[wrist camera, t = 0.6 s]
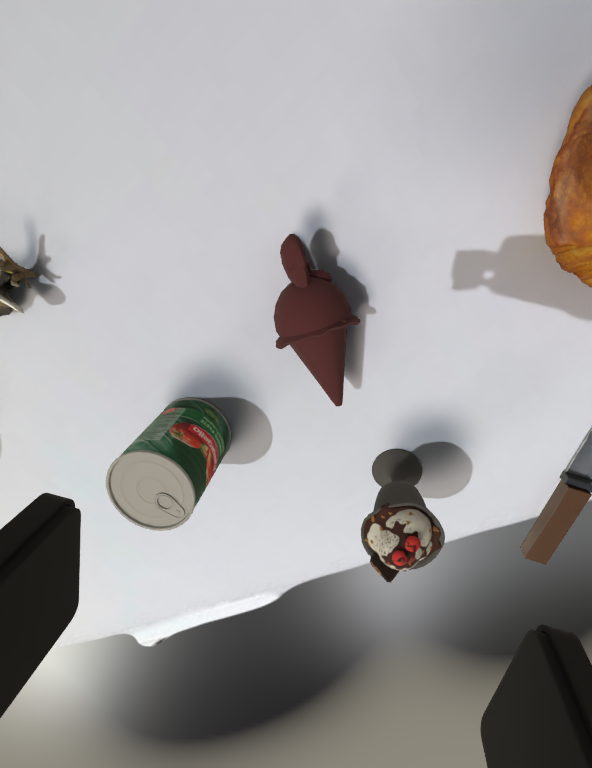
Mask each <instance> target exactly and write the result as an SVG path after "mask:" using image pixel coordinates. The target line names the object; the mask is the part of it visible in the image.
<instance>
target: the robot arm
mask: <svg viewBox="0 0 592 768" xmlns="http://www.w3.org/2000/svg"><path fill="white" fill-rule="evenodd" d="M80 525H81V512H80V510H79V509H77V508H75V503H74V501H73V500H71V499H68V498H64V497H61V496H57V495H53V494H49V493H44V494H42V495H40V496H39V497H38V498H36V499H35V500H34V501H33V502H32V503H31V504H29V505H28V506H27V507H26V508H25V509H24V510H22V511H21V512H20V513H19V514H18V515H17V516H16V517H14V518H13V519H12V520H11V521H10V522H9V523H7V524H6V525H5V526H4V527H3V528H2V529H1V530H0V718H1V716H2V715H3V714H4V712H5V711H6V710H7V708H8V707H9V706H10V704H11V703H12V701H13V700H14V699H15V697H16V696H17V695H18V693H19V692H20V690H21V689H22V688H23V686H24V685H25V684H26V682H27V681H28V679H29V678H30V677H31V675H32V674H33V673H34V671H35V670H36V668H37V667H38V666H39V664H40V663H41V661H42V660H43V659H44V657H45V656H46V655H47V653H48V652H49V651H50V649H51V648H52V646H53V645H54V644H55V642H56V641H57V640H58V638H59V637H60V635H61V634H62V633H63V631H64V630H65V629H66V627H67V626H68V624H69V623H70V622H71V620H72V618H73V617H74V615H75V613H76V610H77V607H78V602H79V567H80ZM481 738H482V743H483V748H484V753H485V757H486V762H487V767H488V768H592V665H591V663H590V661H589V659H588V657H587V655H586V653H585V651H584V649H583V646H582V644H581V642H580V640H579V639H578V637H577V636H576V635H575V634H574V633H572V632H568V631H565V630H561V629H557V628H553V627H549V626H546V625H540V626H538V627H537V629H536V630H535V631H534V630H530V631H528V632H527V634H526V636H525V637H524V639H523V641H522V643H521V645H520V647H519V649H518V650H517V652H516V654H515V656H514V658H513V660H512V662H511V664H510V665H509V667H508V669H507V671H506V673H505V675H504V677H503V679H502V680H501V682H500V684H499V686H498V688H497V690H496V692H495V694H494V696H493V697H492V699H491V701H490V703H489V705H488V707H487V709H486V711H485V713H484V714H483V717H482V721H481Z"/></svg>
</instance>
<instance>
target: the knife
mask: <svg viewBox="0 0 592 768" xmlns="http://www.w3.org/2000/svg"><path fill="white" fill-rule="evenodd" d="M560 478H561V482H560V483H559V485H558V487H557V488H556V490H555V491H554V493H553V495H552V496H551V498H550V500H549V501H548V503H547V504H546V506H545V508H544V509H543V511H542V513H541V514H540V516H539V517H538V519H537V521H536V522H535V524H534V526H533V527H532V529H531V530H530V532H529V534H528V535H527V537H526V539H525V540H524V542H523V543H522V545H521V547H520V548H521V550H522V552H523V555H524V557H525V558H527V559H530V560H533V561H536V562H539V563H542V564H545V565H546V563H547V562H548V560H549V559H550V557H551V556H552V554H553V553H554V551H555V550H556V548H557V547H558V545H559V543H560V542H561V541H562V539H563V538H564V536H565V535H566V533H567V532H568V530H569V528H570V527H571V525H572V524H573V523H574V521H575V519H576V518H577V516H578V515H579V513H580V512H581V510H582V509H583V507H584V506H585V504H586V503H587V501H588V500H589V498H590V497H591V493H592V427H591V429H590V430H589V432H588V434H587V435H586V437H585V439H584V440H583V442H582V443H581V445H580V447H579V448H578V450H577V452H576V453H575V455H574V456H573V458H572V460H571V461H570V463H569V465H568V466H567V468H566V469H565V471H563V473H562V474H561V476H560ZM590 492H591V493H590Z"/></svg>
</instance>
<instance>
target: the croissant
mask: <svg viewBox="0 0 592 768" xmlns="http://www.w3.org/2000/svg"><path fill="white" fill-rule="evenodd" d="M549 184H550V195H549V196H548V198H547V201H546V210H545V212H544V230H545V239H546V243H547V245H548V246H549V247H550V249H551V251H552V253H553V254H554V255H555V256H556V261H557V262H558V263H560V266H561V269H563V270H565V271H567V272H570V273H573V274H574V275H576V276H577V277H578V278H580V279H581V281H582V282H583V283H585V284H587V285H588V286H590V287H592V85H591V86H590V87H589V88H588V89H587V90H586V91H585V92H584V93H583V94H582V96H581V97H580V99H579V101H578V103H577V104H576V106H575V108H574V110H573V112H572V115H571V118H570V121H569V125H568V129H567V134H566V136H565V138H564V141H563V144H562V147H561V149H560V150H559V152H558V154H557V156H556V159H555V161H554V164H553V168H552V172H551V176H550V179H549Z"/></svg>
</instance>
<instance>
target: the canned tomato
mask: <svg viewBox="0 0 592 768" xmlns="http://www.w3.org/2000/svg"><path fill="white" fill-rule="evenodd" d="M230 443H231V430H230V427H229V424H228V422H227V420H226V418H225V417H224V415H223V414H222V413H221V412H220V411H219V410H218V409H217V408H216V407H215V406H213V405H212V404H210V403H208V402H206V401H204V400H201V399H196V398H183V399H179V400H176V401H174V402H172V403H171V404H170V405H168V406H167V407H166V408H165V409H164V411H163V412H162V413H161V414H160V415H159V416H158V417H157V418H156V419H155V420H154V421H153V422H152V423H151V424H150V425H149V426H148V427H147V428H146V429H145V431H143V433H142V434H141V435H140V436H139V437H138V438H137V439H136V440H135V441H134V442H133V443H132V444H131V445H130V446H129V447H128V448H127V449H126V450H125V451H124V452H123V453H122V455H121V456H120V457H118V458H117V459H116V460H115V461H114V462H113V463H112V464H111V466H110V468H109V470H108V473H107V477H106V487H107V491H108V495H109V497H110V499H111V502H112V503H113V505H114V506H115V508H116V509H117V510H118V511H119V512H120V513H121V514H122V515H123V516H124V517H125V518H126V519H128V520H129V521H131V522H132V523H134V524H136V525H138V526H141V527H143V528H146V529H150V530H159V531H163V530H170V529H174V528H177V527H179V526H180V525H182V524H184V523H185V522H186V521H187V520H188V519H189V517H190V516H191V514H192V513H193V510H194V508H195V506H196V504H197V503H198V501H199V499H200V497H201V496H202V494H203V492H204V491H205V489H206V487H207V485H208V483H209V482H210V480H211V478H212V476H213V475H214V473H215V471H216V469H217V468H218V466H219V464H220V463H221V460H222V459H223V457H224V455H225V454H226V452H227V451H228V449H229V446H230Z"/></svg>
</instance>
